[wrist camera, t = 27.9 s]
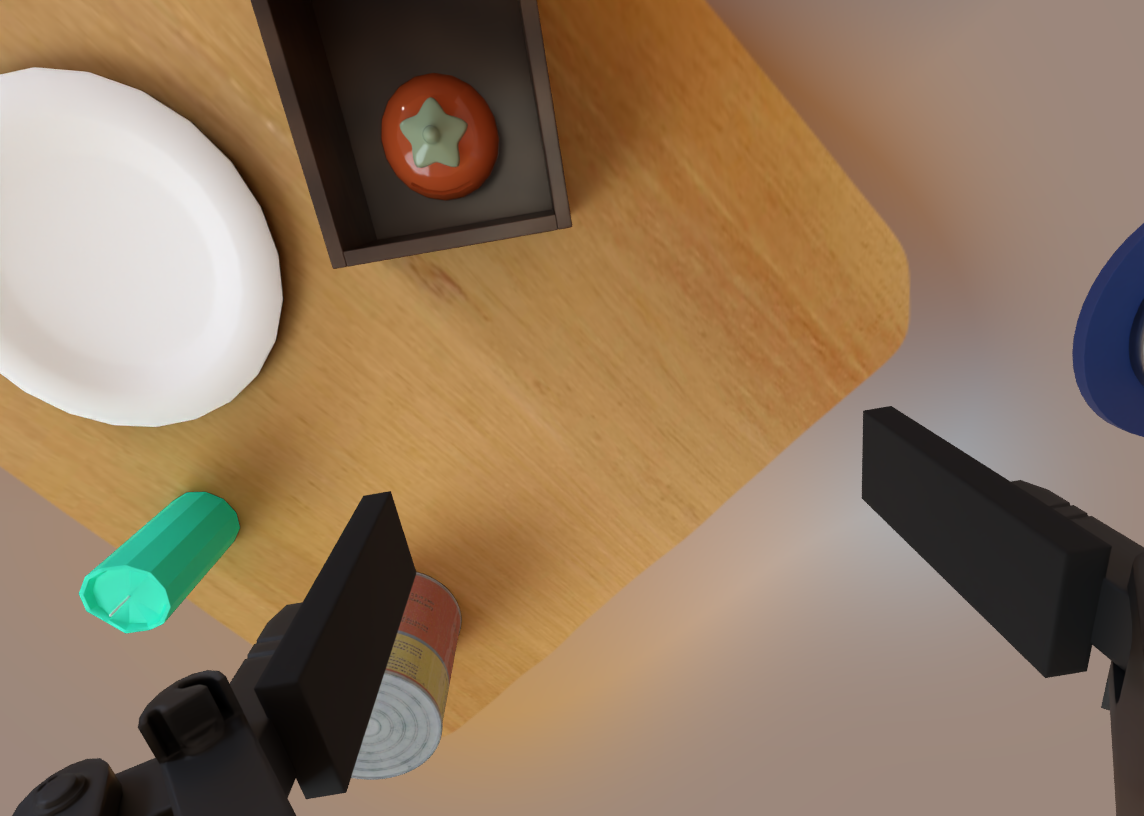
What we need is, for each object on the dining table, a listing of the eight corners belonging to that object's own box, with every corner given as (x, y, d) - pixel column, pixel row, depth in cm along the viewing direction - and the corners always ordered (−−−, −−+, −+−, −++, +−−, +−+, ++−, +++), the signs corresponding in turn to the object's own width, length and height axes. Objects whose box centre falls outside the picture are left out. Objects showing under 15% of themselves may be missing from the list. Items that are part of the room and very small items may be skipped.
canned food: (316, 621, 56) (260, 731, 44) (393, 547, 53) (353, 644, 42) (409, 683, 59) (379, 800, 48) (485, 616, 56) (472, 723, 45)
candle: (154, 501, 50) (44, 592, 39) (219, 483, 50) (127, 569, 39) (189, 557, 53) (94, 659, 41) (252, 540, 52) (173, 637, 41)
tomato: (402, 201, 42) (372, 204, 35) (388, 83, 39) (353, 60, 32) (506, 198, 42) (499, 201, 35) (499, 81, 40) (490, 57, 32)
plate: (335, 182, 42) (327, 182, 41) (239, 466, 50) (229, 475, 48) (-50, -7, 37) (-76, -16, 36) (-93, 340, 45) (-116, 346, 43)
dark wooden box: (566, 219, 44) (572, 227, 36) (371, 253, 44) (332, 269, 36) (523, -51, 38) (518, -117, 30) (298, -10, 38) (230, -65, 30)
